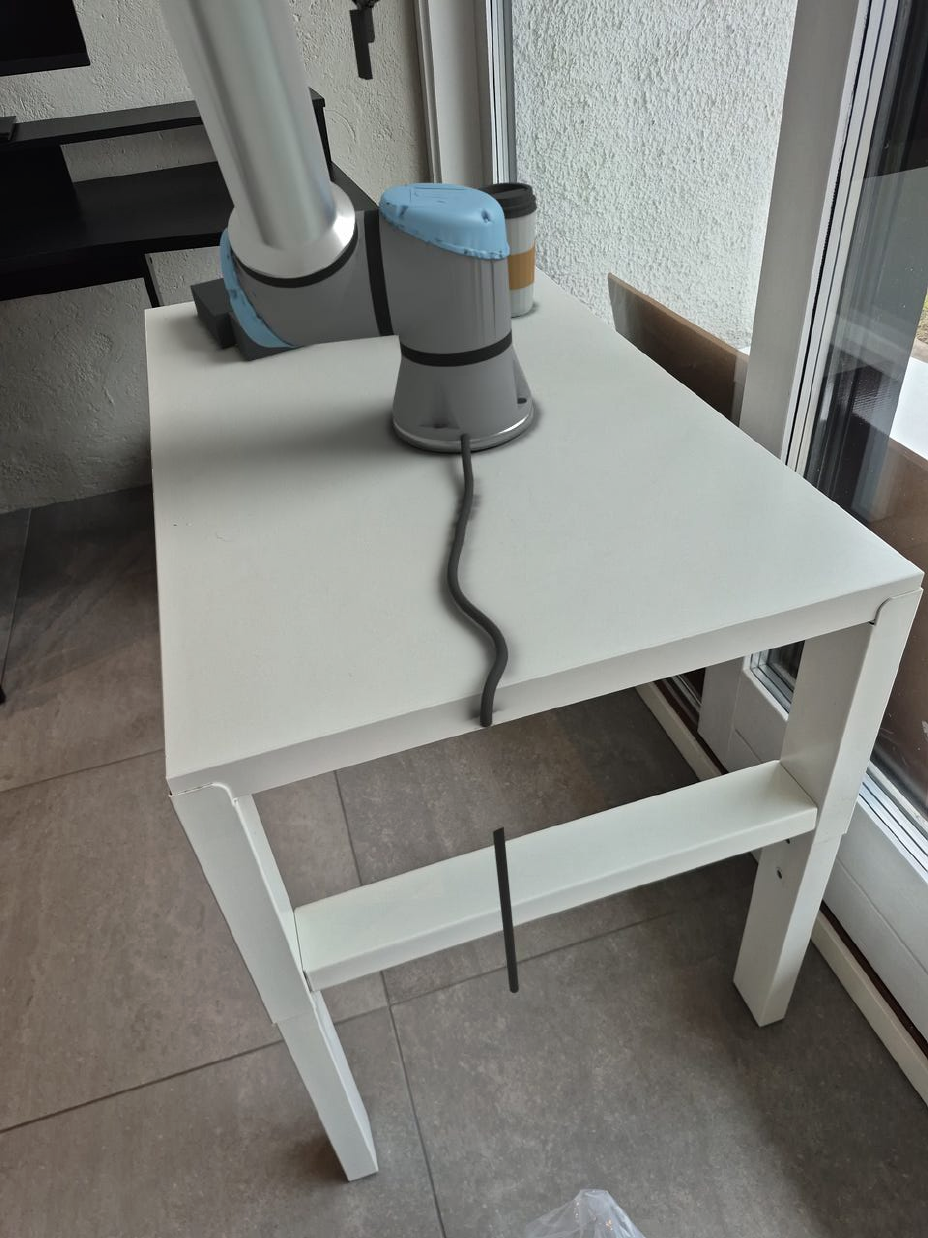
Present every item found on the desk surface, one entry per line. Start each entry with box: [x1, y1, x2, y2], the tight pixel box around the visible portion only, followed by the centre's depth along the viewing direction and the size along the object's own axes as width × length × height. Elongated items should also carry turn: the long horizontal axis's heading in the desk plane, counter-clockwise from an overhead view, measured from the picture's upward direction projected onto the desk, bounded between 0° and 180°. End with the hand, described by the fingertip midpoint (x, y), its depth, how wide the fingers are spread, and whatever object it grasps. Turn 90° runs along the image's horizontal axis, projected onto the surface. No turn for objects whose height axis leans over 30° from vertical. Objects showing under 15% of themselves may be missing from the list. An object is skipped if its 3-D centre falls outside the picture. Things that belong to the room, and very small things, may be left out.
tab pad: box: [229, 311, 303, 362], centre depth 119 cm, size 9×8×4 cm
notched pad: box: [189, 277, 237, 349], centre depth 125 cm, size 14×12×4 cm
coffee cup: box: [477, 181, 538, 318], centre depth 117 cm, size 8×8×15 cm
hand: (309, 88), depth 101 cm, fingers open, 13 cm apart
